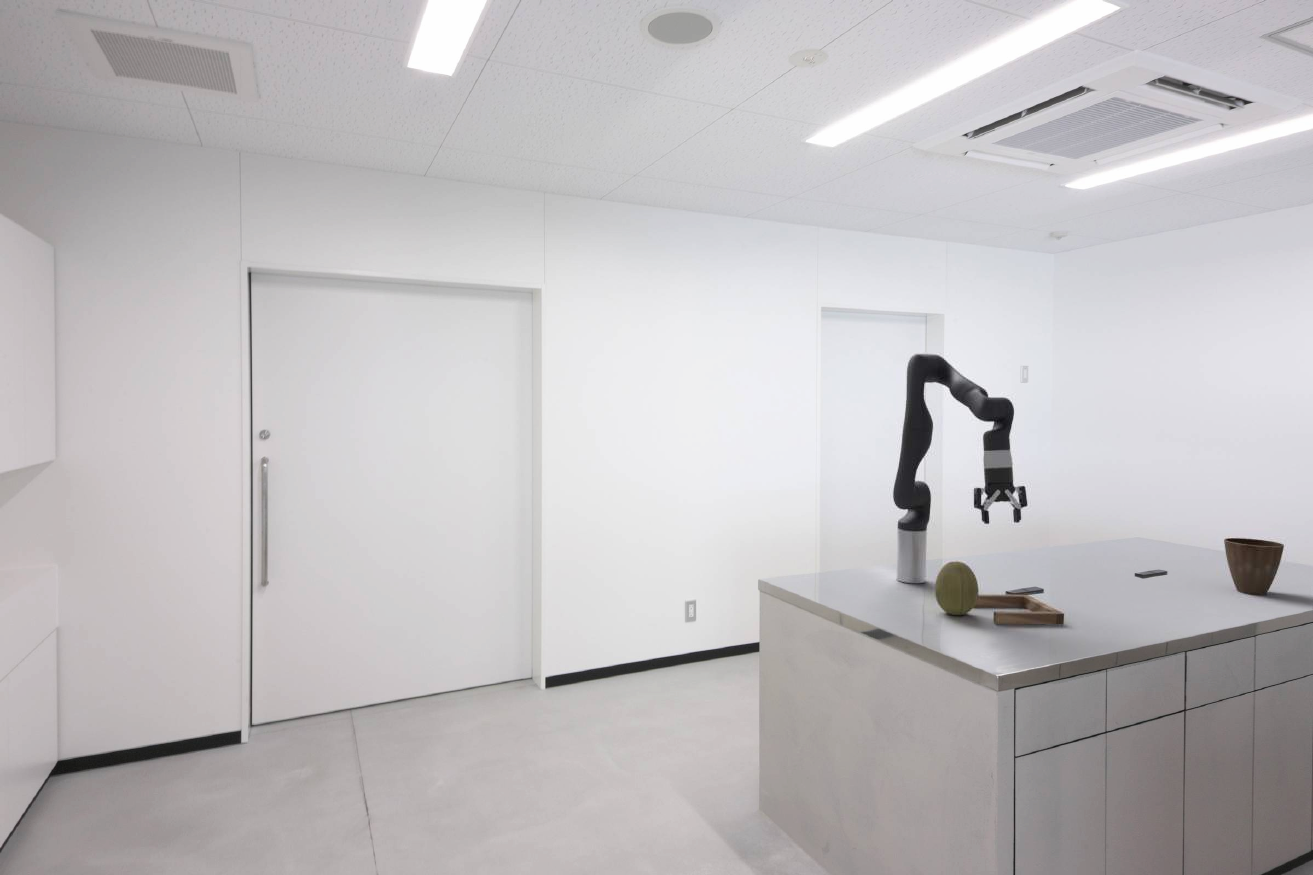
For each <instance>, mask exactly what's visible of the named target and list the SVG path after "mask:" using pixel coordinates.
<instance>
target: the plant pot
mask: <svg viewBox="0 0 1313 875" xmlns="http://www.w3.org/2000/svg"><path fill="white" fill-rule="evenodd" d="M1223 544H1224V550H1225V556H1226V561H1227V565H1228V566H1227V567H1228V570H1229V572H1230V573H1229V574H1230V577H1231V579H1232V582H1233V583H1234V584H1233V585H1234V588H1235V589H1236V591H1237V592H1239V593H1243V594H1247V595H1257V596H1258V595H1259V596H1264V595H1265V596H1266V595H1267V594H1268V592H1269V590H1270V588H1271V586H1272V584H1273V582H1274V580H1275V578H1276V575H1277V573H1278V570H1279V567H1280V564H1281V560H1282V556H1283V552H1284V548H1285V544H1283V543H1282V542H1278V541H1277V542H1276V541H1271V540H1265V539H1255V538H1245V537H1242V538H1241V537H1230V538H1229V537H1228V538H1223Z"/></svg>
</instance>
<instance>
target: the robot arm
mask: <svg viewBox="0 0 1313 875" xmlns="http://www.w3.org/2000/svg"><path fill="white" fill-rule="evenodd" d="M927 383H930V384H933V383H937V384H940V385H942V386H945V387H947V388H948V390H949V393H950V394H951V397H953V398H954V399H955V400H956V401H957V402H959V403H960V404H962V405H964V406H965V407H967V408H968V409H969V411H970V412H971V413H972V415H973V416H974V417H975V418H976V419H978V420H979V421H981V422H982V421H983V422H986V423H992V422H993V425H992V428H991V429H989V430H987V431H985V432H984V433H983V435H982V444H983V459H982V460H983V473H984V474H983V475H984V476H983V477H984V487H983V488H982V487H974V488H973V508H975V509H978V510H980V512H981V521H982V522H983V523H984V524H985V525H989V524H990V512H989V510H988V509H989V508H990V507H991V505H992V504H993V503H999V502H1002V503H1004V502H1006V503H1008V504H1010V505H1011V507H1012V508H1013V509H1012V512H1013V514H1012V515H1013V517H1012V518H1013V522H1014V523H1016V524H1017V523H1020V521H1021V520H1022V509H1023V508H1027V507H1028V499H1027V491H1026V486H1024V485H1018V486H1014V485H1015V484H1014V471H1013V457H1012V451H1011V440H1010V435H1011V430H1012V426H1013V421H1014V418H1015V408H1014V405H1013V403H1012V401H1011V400H1010V399H1009V398H1008V397H1004V396H1003V397H999V396H998V397H995V396H994V397H991V396H990V397H989V394H988V392H987V390H986V389H985V388H983V387H982V386H981V385H978V384H977V383H975V382H974V381H972V380H970V379H969V378H967V377H965V376H964V375H963V374H961V373H960V372H959V371H958V370H956V368H954V367H953V366H952V365H951V364H950V363H949V362H948V361H947V360H946V359H945V358H943V356H941V355H939V354H933V353H932V354H931V353H915V354H913V355H912V356H911V357H910V358H909V361H908V363H907V368H906V392H905V393H906V395H905V397H906V399H905V400H906V401H905V411H904V420H903V427H902V434H901V446H900V453H899V460H898V467H897V472H896V477H895V480H894V485H893V491H892V497H893V498H892V499H893V502H894V504H895V506H896V507H897V508H898V509H900V510H907V512H906V514H905V515H904V516H902V517H901V518H900V519H899V520H898V521H897V543H896V545H897V546H896V547H897V548H896V550H897V552H896V580H897V581H898V582H900V583H901V582H902V583H906V584H922V583H926V581H927V580H926V578H927V576H926V575H927V541H928V540H927V537H928V533H927V532H928V524H929V522H930V520H931V518H930V517H931V507H932V506H931V504H932V493H931V490H930V487H929V485H928V484H927V482H924V481H923V480H922V481H921V480H916V476H917V470H918V468H919V466H920V464H921V462H922V460H924V458H925V456H926V454H927V453H928V451H929V449H930V447H931V444H932V442H933V441H932V440H933V432H934V430H933V429H934V422H933V418H932V415H931V413H930V411H929V408H928V407H927V403H926V401H925V384H927ZM1014 493H1016V494H1017V495H1018V496H1017V497H1018V500H1017V499H1016V497H1015V496H1014ZM984 494H985V495H986V497H985V499H984V500H983V503H982V496H983V495H984Z"/></svg>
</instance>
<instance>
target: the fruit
mask: <svg viewBox="0 0 1313 875" xmlns="http://www.w3.org/2000/svg"><path fill="white" fill-rule="evenodd" d="M973 571H974V570H972V569H971V567H969V565H968V564H966V563H964V562H962V561H957V560H955V561H950V562H949V561H948V562H947V563H946V564H945V565H944V566H942V568H941V569H940V570H939V572H938V574H937V576H936V579H935V585H934V594H935V598H936V601H937V604H938V606H939V607H940V608H941V610H942V611H943V612H945V613H947V614H948V615H951V616H962V615H966V614H968V613H970V612H971V611H972V610H973V609H974V608H975V607H974V606H975V604H976V602H977V599H978V595H979V584H978V579H977V576H976V575H975V572H973Z"/></svg>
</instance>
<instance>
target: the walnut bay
mask: <svg viewBox="0 0 1313 875" xmlns="http://www.w3.org/2000/svg"><path fill="white" fill-rule="evenodd" d="M976 607H982V608H983V607H989V608H991V607H993V608H994V607H999V608H1001V607H1007V608H1010V607H1013V608H1015V607H1018V608H1019V607H1021V608H1022V607H1023V608H1025V609H1027V610H1028V611H1013V610H1012V611H1009V610H1007V611H1004V610H1003V611H999V610H998V611H993V623H994V624H995V625H999V626H1000V625H1003V626H1004V625H1005V626H1006V625H1009V626H1010V625H1015V626H1016V625H1020V626H1022V625H1023V624H1025V625H1027V626H1029V625H1028V624H1031V625H1030V626H1035V625H1034V624H1057V626H1059V625H1058V624H1064V623H1065V613H1063V612H1061V611H1060V610H1058V609H1057V608H1054V607H1052V606H1050V605H1048V604H1046V603H1044V602H1041V601H1040V600H1039V599H1036V598H1035V597H1032V596H1031V595H1029V594H978V599H977V602H976V604H975V606H974V607H973V608H976ZM1025 625H1023V626H1025Z"/></svg>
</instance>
